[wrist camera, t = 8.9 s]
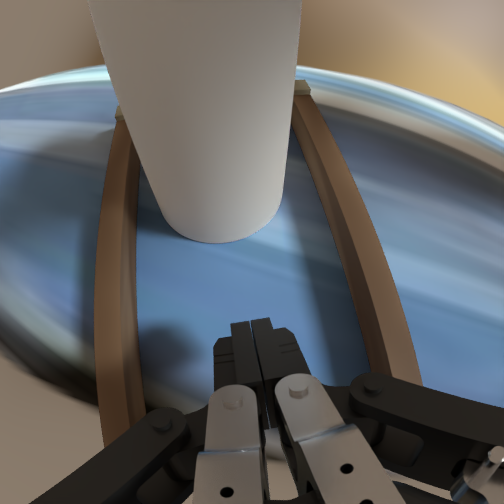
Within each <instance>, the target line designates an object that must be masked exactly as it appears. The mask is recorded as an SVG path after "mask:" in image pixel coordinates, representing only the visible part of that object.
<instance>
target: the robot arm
mask: <svg viewBox="0 0 504 504" xmlns="http://www.w3.org/2000/svg"><path fill="white" fill-rule="evenodd" d="M230 325H231V334H232V336H231V337H224V338H219V339H218V340H217V342H216V343H215V345H214V347H213V355H214V393H213V394H212V395H211V397H210V399H209V404H208V405H207V406H205V407H204V408H202V409H200V410H198V411H196V412H193V413H190V414H187V415H183V414H182V413H181V412H180V411H179V410H177V409H174V408H159V409H155V410H153V411H151V412H149V413H148V414H146V415H145V416H144V417H143V418H141V419H140V420H139V421H138V422H137V423H135V424H134V425H133V426H132V427H130V428H129V429H128V430H127V431H126V432H124V433H123V434H122V435H121V436H119V437H118V438H117V439H116V440H114V441H113V442H112V443H110V444H109V445H108V446H107V447H105V448H104V449H103V450H102V451H100V452H99V453H98V454H96V455H95V456H94V457H93V458H91V459H90V460H89V461H87V462H86V463H85V464H83V465H82V466H81V467H79V468H78V469H77V470H76V471H74V472H73V473H71V474H70V475H69V476H67V477H66V478H64V479H63V480H62V481H60V482H59V483H58V484H56V485H55V486H54V487H52V488H51V489H49V490H48V491H46V492H45V493H44V494H42V495H41V496H39V497H38V498H36V499H35V500H34V501H32V502H31V503H29V504H182V503H183V502H184V501H185V500H186V499H187V498H188V497H189V496H190V495H191V494H192V493H193V504H504V408H501V407H496V406H492V405H488V404H484V403H480V402H476V401H473V400H469V399H465V398H461V397H458V396H454V395H451V394H447V393H443V392H440V391H437V390H433V389H430V388H427V387H423V386H420V385H417V384H413V383H410V382H407V381H404V380H401V379H398V378H395V377H392V376H388V375H385V374H382V373H377V372H369V373H364V374H361V375H359V376H357V377H356V378H355V379H354V380H353V381H352V382H351V385H350V386H341V387H335V386H327V385H324V384H321V382H320V381H319V380H318V379H317V378H316V377H314V376H312V375H311V373H310V370H309V368H308V366H307V363H306V361H305V359H304V357H303V354H302V352H301V350H300V347H299V345H298V343H297V341H296V338H295V336H294V334H293V333H292V332H291V331H289V330H288V329H286V328H285V327H284V328H279V329H273V327H272V324H271V321H270V318H269V317H268V318H262V319H256V320H251V328H252V332H251V328H250V323H249V321H244V322H238V323H231V324H230ZM252 335H253V337H252ZM265 403H266V404H265ZM266 407H267V410H266ZM267 412H268V416H269V421H270V425H271V428H276V427H278V430H279V434H280V441H281V447H282V450H283V452H284V455H285V458H286V461H287V463H288V466H289V469H290V472H291V474H292V477H293V480H294V482H295V485H296V488H297V492H298V497H297V498H295V499H292V500H270V493H269V483H268V473H267V462H266V451H265V444H266V438H265V432H264V430H266V429H269V424H268V417H267ZM384 468H385V469H388V470H390V471H393V472H395V473H398V474H400V475H403V476H406V477H408V478H411V479H414V480H417V481H420V482H423V483H426V484H429V485H432V486H435V487H438V488H441V489H444V490H448V491H450V495H451V498H452V500H453V501H451V500H448V499H445V498H442V497H439V496H437V495H434V494H431V493H428V492H426V491H423V490H420V489H417V488H415V487H413V486H410V485H408V484H405V483H401V482H397V481H391V479H390V477H389V476H388V474H387V473H386V471H385V470H384Z"/></svg>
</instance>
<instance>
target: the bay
mask: <svg viewBox="0 0 504 504" xmlns="http://www.w3.org/2000/svg"><path fill="white" fill-rule="evenodd" d="M310 91H311V89H310V87H309V86H308V84H307V82H306V81H305V80H295V84H294V94H293V104H292V114H291V125H292V128H293V130H294V132H295V135H296V137H297V140H298V142H299V145H300V147H301V150H302V152H303V155H304V157H305V160H306V162H307V165H308V168H309V170H310V173H311V175H312V178H313V181H314V183H315V186H316V189H317V192H318V194H319V197H320V200H321V203H322V205H323V208H324V211H325V214H326V217H327V220H328V223H329V226H330V229H331V232H332V235H333V238H334V241H335V244H336V247H337V250H338V253H339V256H340V259H341V262H342V266H343V269H344V272H345V275H346V279H347V282H348V285H349V289H350V292H351V296H352V299H353V303H354V306H355V310H356V313H357V317H358V321H359V324H360V328H361V332H362V336H363V340H364V344H365V348H366V352H367V356H368V360H369V364H370V368H371V372H377V373H382V374H385V375H388V376H392V377H395V378H398V379H401V380H404V381H407V382H410V383H413V384H417V385H420V386H423V384H422V379H421V375H420V371H419V366H418V362H417V358H416V354H415V350H414V347H413V343H412V339H411V335H410V332H409V328H408V325H407V321H406V318H405V315H404V311H403V308H402V305H401V302H400V298H399V295H398V292H397V289H396V286H395V283H394V280H393V277H392V274H391V272H390V269H389V266H388V263H387V260H386V258H385V255H384V252H383V249H382V247H381V244H380V241H379V239H378V236H377V234H376V231H375V229H374V226H373V224H372V221H371V219H370V216H369V214H368V211H367V209H366V207H365V204H364V202H363V200H362V197H361V195H360V193H359V191H358V188H357V186H356V184H355V182H354V179H353V177H352V175H351V173H350V171H349V169H348V167H347V164H346V162H345V160H344V158H343V156H342V154H341V152H340V150H339V148H338V146H337V144H336V142H335V140H334V138H333V136H332V134H331V132H330V130H329V128H328V126H327V124H326V123H325V121H324V119H323V117H322V115H321V113H320V111H319V110H318V108H317V106H316V104H315V102H314V101H313V99H312V97H311V95H310ZM115 118H116V121H117V122H116V127H115V131H114V136H113V140H112V145H111V150H110V155H109V160H108V166H107V172H106V177H105V184H104V190H103V197H102V204H101V212H100V220H99V230H98V240H97V252H96V266H95V287H94V348H95V369H96V383H97V394H98V404H99V413H100V420H101V428H102V435H103V442H104V447H107V446H108V445H109V444H110V443H112V442H113V441H114V440H116V439H117V438H118V437H119V436H121V435H122V434H123V433H124V432H126V431H127V430H128V429H129V428H130V427H132V426H133V425H134V424H135V423H137V422H138V421H139V420H140V419H141V418H143V417H144V416H145V415H146V409H145V401H144V393H143V384H142V375H141V364H140V353H139V339H138V322H137V298H136V229H137V205H138V188H139V175H140V163H141V161H140V159H139V156H138V153H137V151H136V148H135V146H134V143H133V140H132V138H131V135H130V132H129V130H128V127H127V124H126V122H125V119H124V116H123V113H122V111H121V108H120V105H119V106H118V107H117V110H116V114H115Z"/></svg>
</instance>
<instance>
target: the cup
mask: <svg viewBox="0 0 504 504" xmlns="http://www.w3.org/2000/svg"><path fill="white" fill-rule="evenodd" d="M87 2H88V5H89V9H90V13H91V17H92V20H93V24H94V27H95V31H96V34H97V37H98V41H99V44H100V47H101V51H102V54H103V57H104V60H105V63H106V67H107V70H108V73H109V76H110V79H111V82H112V85H113V88H114V91H115V93H116V96H117V99H118V102H119V105H120V108H121V111H122V113H123V116H124V119H125V122H126V124H127V127H128V130H129V132H130V135H131V138H132V140H133V143H134V146H135V148H136V151H137V153H138V156H139V159H140V161H141V164H142V166H143V169H144V171H145V174H146V176H147V179H148V181H149V183H150V186H151V188H152V191H153V193H154V196H155V198H156V200H157V203H158V205H159V207H160V210H161V212H162V214H163V216H164V218H165V220H166V221H167V223H168V224H169V225H170V226H171V227H172V228H173V229H174V230H175V231H176V232H178V233H179V234H181V235H183V236H185V237H187V238H189V239H192V240H195V241H198V242H204V243H227V242H233V241H237V240H240V239H243V238H246V237H248V236H250V235H252V234H254V233H256V232H257V231H259V230H260V229H262V228H263V227H264V226H265V225H267V223H268V222H269V221H270V220H271V219H272V218H273V217H274V215H275V214H276V212H277V210H278V208H279V206H280V203H281V199H282V193H283V185H284V176H285V168H286V159H287V150H288V141H289V132H290V123H291V114H292V104H293V94H294V84H295V74H296V64H297V53H298V41H299V30H300V19H301V6H302V0H87Z"/></svg>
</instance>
